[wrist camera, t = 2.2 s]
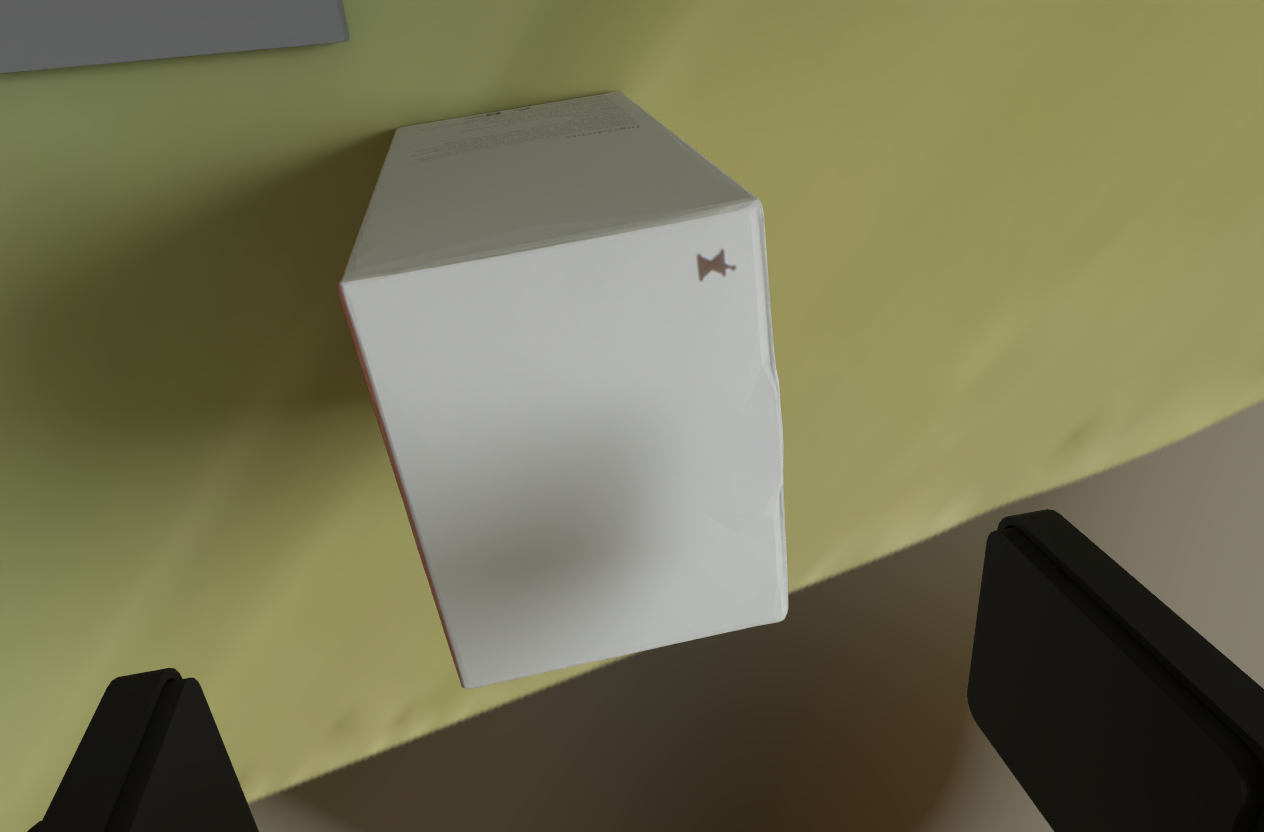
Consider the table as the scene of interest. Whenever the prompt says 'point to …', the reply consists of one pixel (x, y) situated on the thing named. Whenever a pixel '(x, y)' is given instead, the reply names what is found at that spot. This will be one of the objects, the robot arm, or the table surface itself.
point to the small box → (573, 383)
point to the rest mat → (157, 29)
